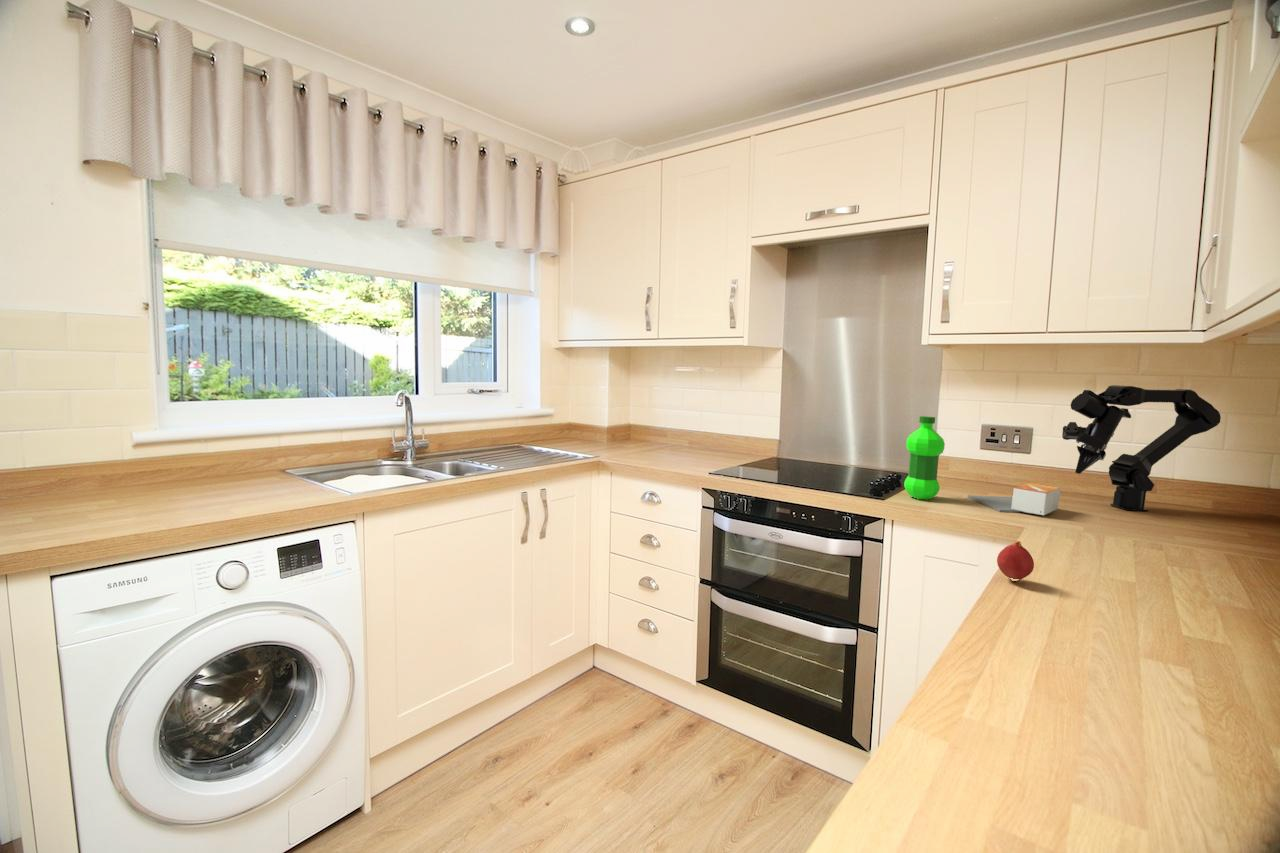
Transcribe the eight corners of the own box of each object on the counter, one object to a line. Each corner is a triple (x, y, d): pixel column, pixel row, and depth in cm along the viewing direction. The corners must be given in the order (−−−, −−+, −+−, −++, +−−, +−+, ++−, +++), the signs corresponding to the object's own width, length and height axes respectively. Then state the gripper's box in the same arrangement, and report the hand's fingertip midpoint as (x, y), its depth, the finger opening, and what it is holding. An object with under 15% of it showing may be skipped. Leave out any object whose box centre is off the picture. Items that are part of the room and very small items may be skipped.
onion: (989, 575, 113) (992, 535, 112) (1019, 576, 113) (1023, 536, 112) (1006, 586, 107) (1011, 544, 107) (1038, 588, 107) (1043, 545, 106)
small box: (1061, 487, 166) (1047, 493, 158) (1058, 509, 167) (1044, 516, 159) (1028, 482, 172) (1013, 487, 164) (1026, 503, 173) (1010, 509, 165)
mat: (1014, 498, 181) (1014, 497, 181) (1051, 513, 164) (1051, 511, 163) (967, 497, 182) (967, 495, 182) (999, 511, 164) (999, 509, 164)
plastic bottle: (920, 493, 186) (927, 415, 183) (947, 501, 176) (954, 418, 173) (894, 494, 182) (901, 415, 180) (920, 503, 172) (927, 418, 170)
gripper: (1074, 422, 182) (1049, 466, 184) (1070, 407, 168) (1043, 456, 170) (1116, 436, 175) (1090, 482, 176) (1116, 422, 161) (1088, 472, 162)
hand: (1077, 473), depth 171 cm, fingers closed
